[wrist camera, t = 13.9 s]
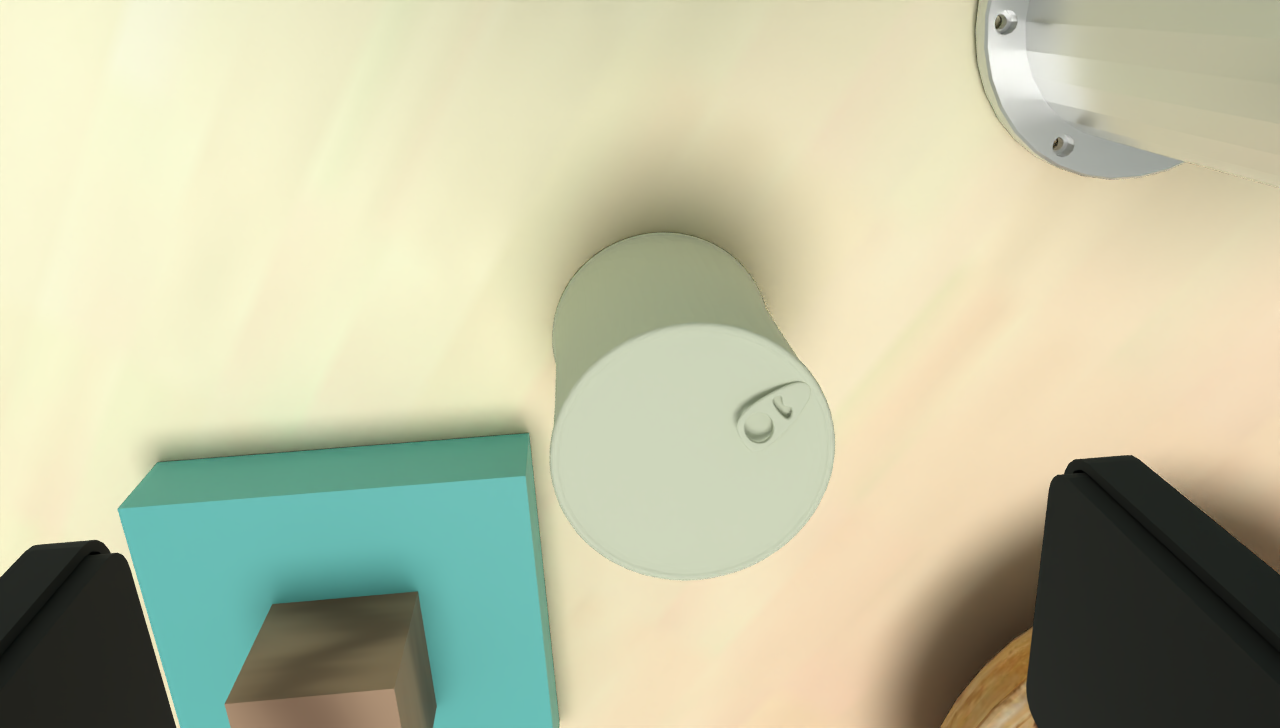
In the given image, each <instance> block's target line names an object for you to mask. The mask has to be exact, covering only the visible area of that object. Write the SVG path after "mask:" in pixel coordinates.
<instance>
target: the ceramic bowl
mask: <svg viewBox="0 0 1280 728" xmlns="http://www.w3.org/2000/svg"><path fill="white" fill-rule="evenodd" d="M1032 630H1033V627H1031V628H1030V629H1028V630H1027V631H1025V632H1024V633H1022V634H1021V635H1019V636H1017V637H1016V638H1014V639H1013V640H1012V641H1011V642H1010V643H1009V644H1008V645H1006V646H1005V647H1004V648H1003V649H1002V650H1001V651H1000V652H999V653H997V654H996V655H995V656H994V657H993V658H992V659H991V660H990V661H988V662H987V663H986V664H985V665H984V666H983V667H982V669H981V670H980V671H979V672H978V673H977V675H976V676H975V677H974V678H973V679H972V681H971V682H970V683H969V684H968V685H967V687H966V688H965V689H964V690H963V691H962V693H961V694H960V695H959V696H958V697H957V699H956V701H955V702H954V704H953V706H952V707H951V709H950V711H949V712H948V714H947V716H946V717H945V719H944V721H943V723H942V724H941V726H940V728H1038V727H1037V725H1036V723H1035V721H1034V719H1033V717H1032V715H1031V712H1030V709H1029V705H1028V701H1027V694H1026V681H1027V673H1028V664H1029V656H1030V647H1031V639H1032Z"/></svg>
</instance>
